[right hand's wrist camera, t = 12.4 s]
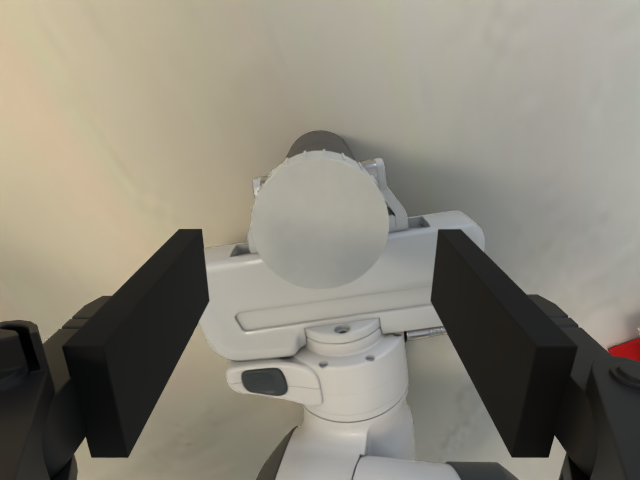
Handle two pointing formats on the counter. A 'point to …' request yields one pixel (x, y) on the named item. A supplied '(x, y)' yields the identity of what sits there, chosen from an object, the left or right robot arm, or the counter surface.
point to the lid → (319, 220)
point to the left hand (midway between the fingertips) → (317, 169)
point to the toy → (627, 349)
